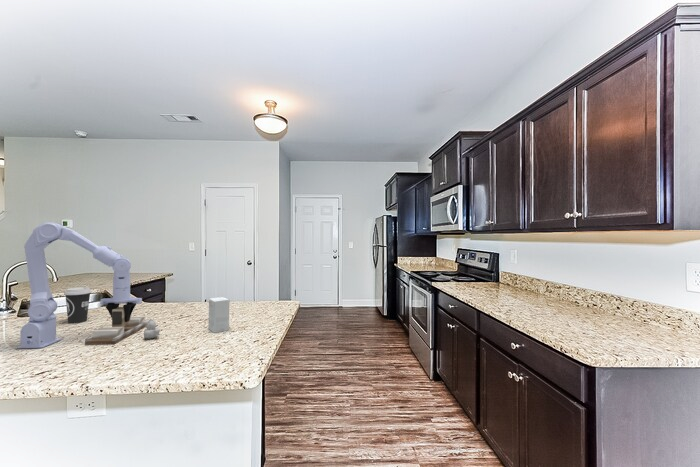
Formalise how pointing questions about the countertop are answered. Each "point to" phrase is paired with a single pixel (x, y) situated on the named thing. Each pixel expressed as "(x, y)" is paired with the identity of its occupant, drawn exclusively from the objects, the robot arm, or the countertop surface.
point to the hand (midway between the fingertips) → (121, 321)
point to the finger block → (119, 317)
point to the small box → (218, 314)
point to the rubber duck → (151, 330)
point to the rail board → (116, 332)
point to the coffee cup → (77, 304)
